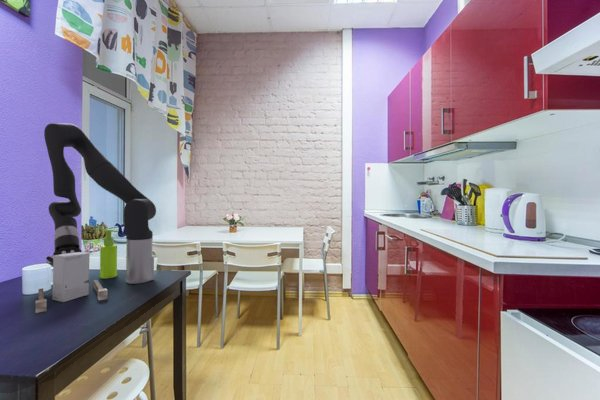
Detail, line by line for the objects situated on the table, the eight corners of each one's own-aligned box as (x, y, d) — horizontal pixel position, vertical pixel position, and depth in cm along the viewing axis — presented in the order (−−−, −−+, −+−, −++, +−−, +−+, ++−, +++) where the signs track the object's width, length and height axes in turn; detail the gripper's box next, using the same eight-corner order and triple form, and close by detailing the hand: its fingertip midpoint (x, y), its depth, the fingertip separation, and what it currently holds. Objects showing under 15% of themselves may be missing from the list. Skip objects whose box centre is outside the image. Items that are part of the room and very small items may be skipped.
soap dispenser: (113, 278, 117) (113, 230, 116) (96, 278, 117) (96, 230, 117) (122, 274, 123) (122, 228, 122) (106, 274, 123) (106, 228, 122)
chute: (99, 286, 107) (99, 278, 107) (107, 298, 95) (107, 290, 94) (36, 296, 96) (36, 287, 95) (35, 313, 83) (35, 303, 83)
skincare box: (62, 302, 91) (62, 256, 90) (51, 300, 93) (51, 255, 93) (90, 294, 98) (90, 252, 98) (79, 292, 101) (79, 250, 100)
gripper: (44, 235, 106) (44, 275, 97) (88, 232, 115) (92, 268, 106) (44, 247, 110) (44, 286, 101) (86, 243, 119) (90, 279, 110)
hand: (69, 277), depth 103 cm, fingers closed
